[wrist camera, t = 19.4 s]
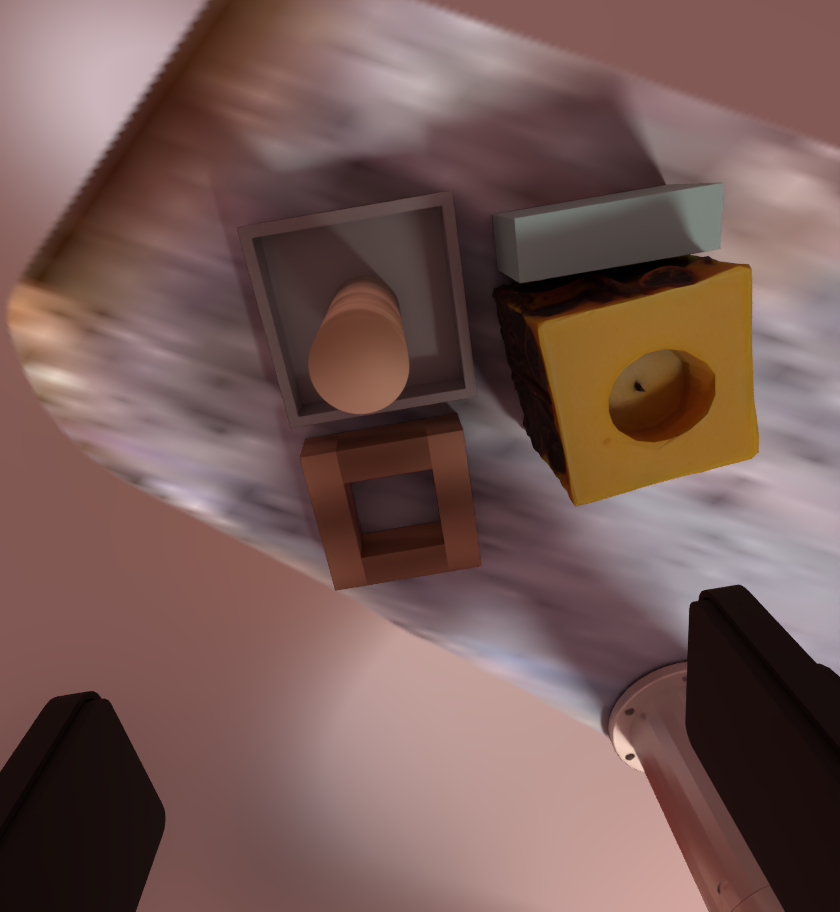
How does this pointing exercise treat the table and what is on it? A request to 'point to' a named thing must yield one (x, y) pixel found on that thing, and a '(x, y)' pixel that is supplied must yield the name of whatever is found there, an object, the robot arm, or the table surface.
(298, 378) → the tray
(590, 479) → the candle
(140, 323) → the table surface
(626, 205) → the block
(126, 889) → the robot arm
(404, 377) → the dowel
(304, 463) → the socket block
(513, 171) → the table surface
